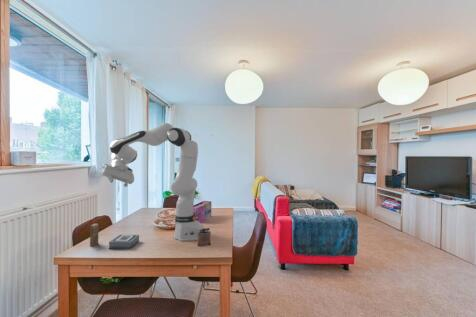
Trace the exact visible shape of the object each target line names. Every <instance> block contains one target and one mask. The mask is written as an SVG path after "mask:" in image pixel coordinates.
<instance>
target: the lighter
mask: <svg viewBox="0 0 476 317" xmlns="http://www.w3.org/2000/svg"><path fill="white" fill-rule="evenodd" d="M210 229H211V228H209V227H207V228H206V227H204V228H202V229H200V232H199V233H198V240H197V247H206V246H207V247H208V246H211V245H212V244H211V243H212V242H211V234H212V232H211V231H210Z"/></svg>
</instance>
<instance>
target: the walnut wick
mask: <svg viewBox="0 0 476 317" xmlns="http://www.w3.org/2000/svg"><path fill="white" fill-rule="evenodd" d="M98 244H99V223H93V224H91V225H89V246H90V247H95V246H97V245H98Z"/></svg>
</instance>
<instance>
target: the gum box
mask: <svg viewBox="0 0 476 317" xmlns="http://www.w3.org/2000/svg"><path fill="white" fill-rule="evenodd" d="M193 214H194V215H196V220H197V221H198V222H199V223H201V224H202V223H204V222H205V221H207V220H209V219H210V218H212V201H208V200H203V201H201V202H198V203H196V204H193Z"/></svg>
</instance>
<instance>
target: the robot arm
mask: <svg viewBox="0 0 476 317" xmlns="http://www.w3.org/2000/svg"><path fill="white" fill-rule="evenodd" d="M167 141H168V142H169V143H171V144H173V145H174V146H176V147H180V156H179V164H178V168H177V172H176V175H175V178H174V180H173V182H172V183H171V185H170V186H171V187H170V190H171V193H172V194H174V195H176V196H178V199H177V201H176V204H175V206H176V208H175V212H176V213H175V217H174V218H175V219H174V220H175V221H174V223H175V227H174V233H173V238H174V239H175V240H178V241H179V242H188V241H198V233H199V232H200V229H202V228H204V229H205V227H204V224H202V223H199V222H198V221H197V220H196V215H194V214H193V205H194V202H195V201H194V200H195V197H196V190H197V188H198V181H197V179H196V178H194V174H195V172H196V169H197V162H198V153H199V151H198V150H199V147H198V146H199V145H198V143H197V142H196V141H194V140H192V135H191V133H190V132H189V131H188V130H185V129H184V128H179V127H173V125H172V124H170V123H168V122H165V123H163V124H160V125H158V126H156V127H154V128H153V129H150V130H149V129H148V130H140V131H137V132H134V133H132V134H129V135H127V136H126V135H125V137H122V138H118V139H115V140H113V141H111V142H110V145H109V150H110V152H111V153H112V154H111V156H110V158H111V159H110V162H111V165H110V164H106V163H103V164H102V170H101V175H102V176H103V177H106V178H107V180H109V183H113V182H114V180H116V181H119V182H123V183H124V184H123V187H124V188H127V187H128V185H132V184H133V183H134V182H135V176H134V173H133V171H134V170H133V169H132V168H130V167H129V166H128V164H131V163H133V162H134V161H136V160H137V157H138V152H137V150H136V149H134V148H133V147H131V146H130V145H131V144H134V143H137V142H138V143H144V144H146V145H149V146H152V147H157V146H160V145H162V144H163V143H165V142H167Z"/></svg>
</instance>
